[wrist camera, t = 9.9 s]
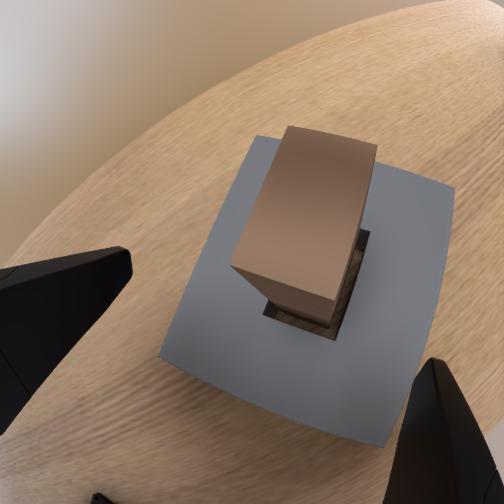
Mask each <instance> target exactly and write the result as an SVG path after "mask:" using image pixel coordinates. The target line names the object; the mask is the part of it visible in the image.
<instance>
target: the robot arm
mask: <svg viewBox="0 0 504 504" xmlns="http://www.w3.org/2000/svg"><path fill="white" fill-rule="evenodd" d="M132 275H133V269H132V262H131V254H130V252H129V250H127V249H125V248H123V247H120V246H116V247H110V248H105V249H100V250H94V251H89V252H84V253H79V254H73V255H68V256H63V257H58V258H53V259H48V260H43V261H38V262H34V263H29V264H24V265H20V266H14V267H10V268H5V269H0V436H1V435H2V434H3V433H4V432H5V431H6V430H7V428H8V427H9V426H10V424H11V423H12V422H13V420H14V419H15V418H16V416H17V415H18V414H19V412H20V411H21V410H22V409H23V407H24V406H25V405H26V403H27V402H28V401H29V400H30V398H31V397H32V396H33V394H34V393H35V392H36V391H37V389H38V388H39V387H40V386H41V385H42V383H43V382H44V381H45V380H46V378H47V377H48V376H49V375H50V374H51V372H52V371H53V370H54V369H55V368H56V367H57V365H58V364H59V363H60V362H61V361H62V360H63V358H64V357H65V356H66V355H67V354H68V353H69V351H70V350H71V349H72V348H73V347H74V346H75V345H76V343H77V342H78V341H79V340H80V339H81V338H82V337H83V336H84V334H85V333H86V332H87V331H88V330H89V329H90V328H91V327H92V326H93V325H94V323H95V322H96V321H97V320H98V319H99V318H100V317H101V316H102V315H103V314H104V312H105V311H106V310H107V309H108V307H109V306H110V305H111V304H112V302H113V301H114V300H115V298H116V297H117V296H118V295H119V293H120V292H121V291H122V289H123V288H124V287H125V286H126V284H127V283H128V282H129V281H130V279H131V277H132ZM91 504H113V503H111V502H110V501H109V500H107V499H106V498H105V497H103V496H102V495H101V494H100V493H95V494H93V497H92V501H91ZM382 504H504V485H503V483H502V480H501V477H500V474H499V472H498V470H497V469H496V465H495V462H494V460H493V457H492V455H491V453H490V450H489V448H488V446H487V443H486V441H485V439H484V436H483V434H482V432H481V430H480V428H479V426H478V423H477V421H476V419H475V417H474V415H473V413H472V411H471V409H470V407H469V405H468V403H467V401H466V399H465V397H464V395H463V393H462V392H461V390H460V388H459V386H458V384H457V382H456V380H455V379H454V377H453V375H452V373H451V371H450V370H449V368H448V366H447V364H446V363H445V361H443V360H440V359H437V358H433V357H432V358H429V359H428V360H427V362H426V363H425V365H424V366H423V367H422V369H421V370H420V372H419V373H418V375H417V376H416V378H415V379H414V382H413V384H412V388H411V393H410V397H409V401H408V405H407V409H406V412H405V416H404V420H403V423H402V427H401V430H400V434H399V438H398V443H397V447H396V452H395V457H394V461H393V466H392V470H391V474H390V478H389V482H388V486H387V490H386V493H385V497H384V500H383V503H382Z"/></svg>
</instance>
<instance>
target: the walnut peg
mask: <svg viewBox="0 0 504 504" xmlns="http://www.w3.org/2000/svg"><path fill="white" fill-rule="evenodd" d="M376 151H377V145H375V144H371V143H367V142H364V141H360V140H356V139H352V138H347V137H343V136H339V135H334V134H330V133H325V132H320V131H315V130H310V129H305V128H300V127H294V126H288V127H287V129H286V132H285V134H284V136H283V138H282V141H281V143H280V145H279V148H278V150H277V152H276V154H275V157H274V159H273V161H272V164H271V166H270V168H269V171H268V173H267V175H266V178H265V180H264V182H263V185H262V187H261V189H260V192H259V194H258V196H257V199H256V201H255V203H254V206H253V208H252V210H251V213H250V215H249V217H248V220H247V222H246V225H245V227H244V229H243V232H242V234H241V236H240V239H239V241H238V244H237V246H236V248H235V251H234V253H233V256H232V258H231V260H230V263H229V265H230V266H231V267H232V268H233V269H234V270H235V271H237V272H238V273H239V274H240V275H241V276H242V277H243V278H245V279H246V280H247V281H248V282H249V283H250V284H251V285H253V286H254V287H255V288H256V289H257V290H258V291H259V292H261V293H262V294H263V295H264V296H265V297H266V298H267V299H269V300H270V301H271V302H272V303H273V304H274V305H275V306H277V307H278V308H279V309H280V310H281V311H282V312H284V313H285V314H287V315H290V316H293V317H295V318H298V319H301V320H304V321H307V322H310V323H312V324H315V325H318V326H321V327H324V328H327V329H329V326H330V323H331V320H332V318H333V315H334V312H335V309H336V306H337V303H338V300H339V297H340V294H341V291H342V288H343V285H344V282H345V279H346V276H347V273H348V270H349V267H350V263H351V260H352V257H353V253H354V249H355V245H356V242H357V238H358V234H359V230H360V226H361V222H362V218H363V213H364V209H365V205H366V200H367V196H368V191H369V187H370V182H371V177H372V172H373V167H374V162H375V156H376Z"/></svg>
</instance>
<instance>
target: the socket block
mask: <svg viewBox="0 0 504 504" xmlns="http://www.w3.org/2000/svg"><path fill="white" fill-rule="evenodd" d="M281 141H282V140H281V139H275V138H270V137H264V136H258V135H256V137H255V139H254V141H253V143H252V145H251V147H250V149H249V151H248V153H247V155H246V157H245V159H244V161H243V163H242V165H241V167H240V170H239V172H238V174H237V176H236V178H235V180H234V182H233V184H232V186H231V188H230V191H229V193H228V195H227V197H226V199H225V201H224V203H223V206H222V208H221V210H220V212H219V214H218V216H217V219H216V221H215V223H214V225H213V227H212V230H211V232H210V234H209V236H208V239H207V241H206V243H205V245H204V248H203V250H202V252H201V254H200V257H199V259H198V261H197V264H196V266H195V268H194V271H193V273H192V275H191V278H190V280H189V282H188V285H187V287H186V289H185V292H184V294H183V296H182V299H181V301H180V304H179V306H178V309H177V311H176V313H175V316H174V318H173V321H172V323H171V326H170V328H169V331H168V333H167V336H166V338H165V341H164V343H163V346H162V348H161V351H160V353H159V356H158V357H159V358H161V359H163V360H165V361H166V362H168V363H170V364H172V365H174V366H175V367H177V368H179V369H181V370H183V371H185V372H186V373H188V374H190V375H192V376H194V377H196V378H198V379H200V380H202V381H204V382H206V383H208V384H210V385H212V386H214V387H216V388H218V389H220V390H222V391H224V392H227V393H229V394H231V395H233V396H235V397H237V398H240V399H242V400H244V401H246V402H249V403H251V404H253V405H256V406H258V407H260V408H263V409H265V410H268V411H270V412H273V413H275V414H278V415H280V416H283V417H285V418H288V419H291V420H293V421H296V422H299V423H301V424H304V425H307V426H310V427H313V428H316V429H318V430H321V431H324V432H328V433H331V434H334V435H337V436H340V437H343V438H347V439H350V440H354V441H357V442H361V443H364V444H368V445H372V446H376V447H380V448H384V446H385V444H386V442H387V440H388V438H389V436H390V434H391V431H392V429H393V427H394V425H395V423H396V421H397V418H398V416H399V414H400V412H401V409H402V407H403V405H404V402H405V400H406V397H407V395H408V393H409V390H410V387H411V385H412V382H413V380H414V377H415V374H416V371H417V369H418V366H419V363H420V360H421V357H422V354H423V351H424V348H425V345H426V341H427V338H428V335H429V331H430V328H431V324H432V321H433V317H434V313H435V309H436V305H437V301H438V297H439V293H440V288H441V284H442V279H443V274H444V269H445V264H446V258H447V252H448V246H449V239H450V232H451V225H452V216H453V206H454V195H455V188H454V187H451V186H448V185H446V184H443V183H440V182H437V181H434V180H432V179H429V178H426V177H423V176H420V175H417V174H414V173H411V172H408V171H405V170H402V169H398V168H395V167H392V166H388V165H385V164H382V163H378V162H374V167H373V172H372V177H371V182H370V187H369V191H368V196H367V200H366V205H365V209H364V213H363V218H362V222H361V226H360V230H359V234H358V238H357V242H356V245H355V248H357V249H360V250H363V251H364V252H363V255H362V259H361V262H360V266H359V269H358V272H357V275H356V278H355V282H354V285H353V288H352V291H351V294H350V297H349V300H348V303H347V306H346V309H345V312H344V315H343V317H342V320H341V323H340V326H339V329H338V331H337V334H336V337H335V339H334V341H333V340H330V339H327V338H325V337H322V336H319V335H316V334H313V333H310V332H308V331H305V330H302V329H299V328H296V327H294V326H291V325H288V324H285V323H283V322H280V321H277V320H275V319H274V317H275V314H276V312H277V309H278V307H277V306H275V305H274V304H273V303H272V302H271V301H270V300H269V299H267V298H266V297H265V296H264V295H263V294H262V293H261V292H259V291H258V290H257V289H256V288H255V287H254V286H253V285H251V284H250V283H249V282H248V281H247V280H246V279H245V278H243V277H242V276H241V275H240V274H239V273H238V272H237V271H235V270H234V269H233V268H232V267H231V266H230V265H229V263H230V260H231V258H232V256H233V253H234V251H235V248H236V246H237V244H238V241H239V239H240V236H241V234H242V232H243V229H244V227H245V225H246V222H247V220H248V217H249V215H250V213H251V210H252V208H253V206H254V203H255V201H256V199H257V196H258V194H259V192H260V189H261V187H262V185H263V182H264V180H265V178H266V175H267V173H268V171H269V168H270V166H271V164H272V161H273V159H274V157H275V154H276V152H277V150H278V148H279V145H280V143H281Z"/></svg>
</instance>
